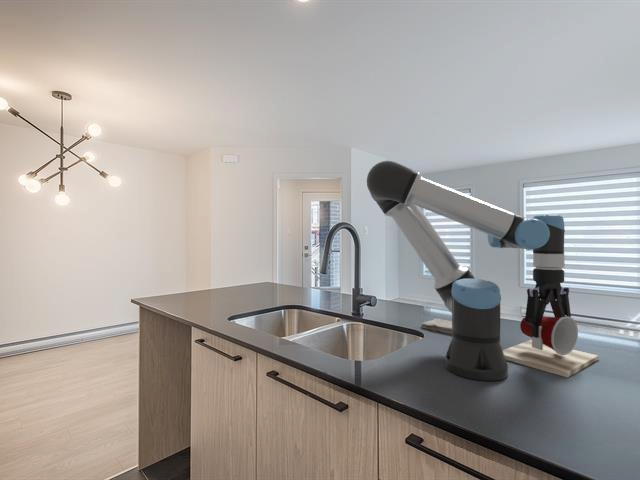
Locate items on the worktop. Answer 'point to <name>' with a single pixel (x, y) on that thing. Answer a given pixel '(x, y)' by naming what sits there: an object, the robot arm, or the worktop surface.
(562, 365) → the cutting board
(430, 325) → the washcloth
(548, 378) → the worktop surface
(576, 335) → the plastic cup
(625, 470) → the worktop surface
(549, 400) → the worktop surface
